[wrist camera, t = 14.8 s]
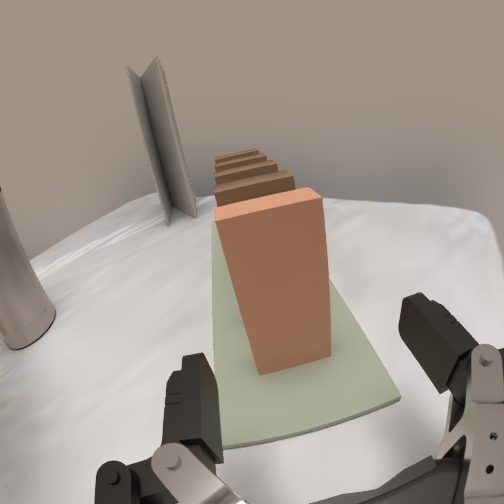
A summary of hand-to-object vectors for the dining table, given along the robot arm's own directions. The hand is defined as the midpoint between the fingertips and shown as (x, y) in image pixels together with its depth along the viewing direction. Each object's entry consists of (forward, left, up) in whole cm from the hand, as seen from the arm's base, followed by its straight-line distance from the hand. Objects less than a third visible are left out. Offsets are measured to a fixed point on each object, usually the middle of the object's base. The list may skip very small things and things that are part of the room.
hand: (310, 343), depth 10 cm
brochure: (-28, +41, -8) cm, 50 cm away
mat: (-6, +17, -8) cm, 19 cm away
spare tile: (-2, +5, -7) cm, 9 cm away
